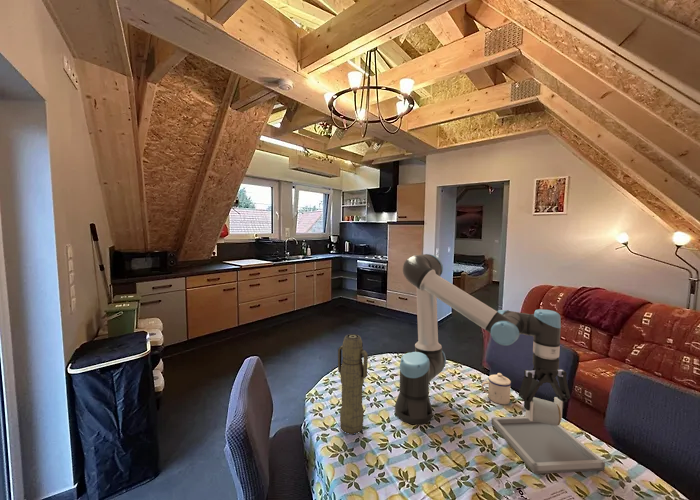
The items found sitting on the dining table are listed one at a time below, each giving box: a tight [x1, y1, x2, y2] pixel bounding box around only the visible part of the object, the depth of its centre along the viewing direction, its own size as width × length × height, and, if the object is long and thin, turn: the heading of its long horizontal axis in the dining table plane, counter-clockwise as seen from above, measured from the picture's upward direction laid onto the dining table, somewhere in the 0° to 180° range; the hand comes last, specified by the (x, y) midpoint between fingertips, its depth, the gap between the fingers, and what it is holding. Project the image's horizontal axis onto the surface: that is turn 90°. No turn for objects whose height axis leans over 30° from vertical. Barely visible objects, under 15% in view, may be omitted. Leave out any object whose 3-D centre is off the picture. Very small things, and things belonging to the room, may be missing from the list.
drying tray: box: [490, 415, 606, 475], centre depth 99 cm, size 23×23×2 cm
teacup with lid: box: [480, 372, 512, 405], centre depth 127 cm, size 12×9×12 cm
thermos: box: [337, 333, 369, 435], centre depth 107 cm, size 9×12×35 cm
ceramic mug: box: [532, 396, 562, 426], centre depth 100 cm, size 11×8×8 cm
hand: (543, 417), depth 99 cm, fingers closed on ceramic mug, 10 cm apart
